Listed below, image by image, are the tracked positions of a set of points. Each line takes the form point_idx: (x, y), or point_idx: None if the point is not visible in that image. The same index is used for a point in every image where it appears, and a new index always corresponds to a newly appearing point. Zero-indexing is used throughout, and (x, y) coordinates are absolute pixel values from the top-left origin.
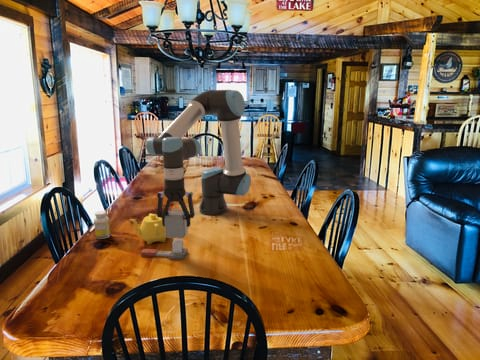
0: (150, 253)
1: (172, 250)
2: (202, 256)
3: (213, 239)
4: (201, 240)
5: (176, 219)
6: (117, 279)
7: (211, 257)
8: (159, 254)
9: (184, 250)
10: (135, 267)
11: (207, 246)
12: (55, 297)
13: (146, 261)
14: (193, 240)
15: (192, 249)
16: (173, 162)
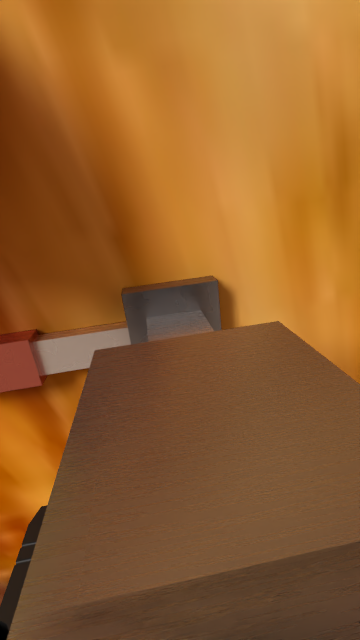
0: (12, 387)
1: (131, 327)
2: (307, 312)
3: (350, 16)
4: (260, 55)
5: None
6: (8, 568)
7: (354, 313)
8: (67, 367)
9: (206, 311)
10: (16, 484)
11: (319, 169)
12: None
13: (32, 426)
14: (197, 64)
15: (231, 235)
16: None
